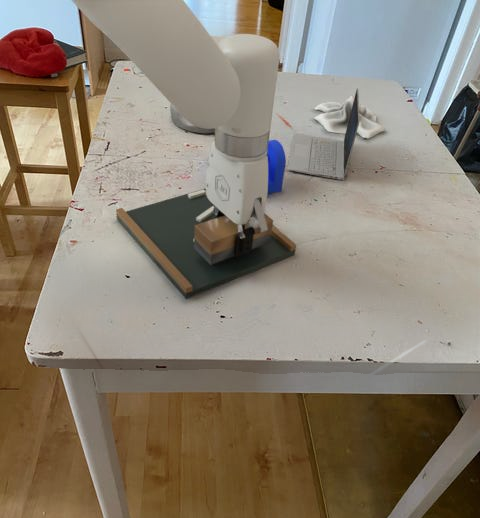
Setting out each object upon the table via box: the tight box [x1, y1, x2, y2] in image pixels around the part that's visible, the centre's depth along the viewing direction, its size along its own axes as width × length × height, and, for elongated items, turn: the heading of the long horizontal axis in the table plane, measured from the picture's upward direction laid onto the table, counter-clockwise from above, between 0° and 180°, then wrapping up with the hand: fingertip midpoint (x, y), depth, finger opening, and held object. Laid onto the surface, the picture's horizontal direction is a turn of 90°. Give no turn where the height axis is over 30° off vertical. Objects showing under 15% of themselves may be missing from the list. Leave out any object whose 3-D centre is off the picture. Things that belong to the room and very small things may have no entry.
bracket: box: [266, 139, 287, 195], centre depth 97 cm, size 18×8×9 cm, turn 29°
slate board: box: [115, 187, 297, 300], centre depth 83 cm, size 22×24×2 cm
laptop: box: [287, 88, 360, 181], centre depth 103 cm, size 18×12×13 cm
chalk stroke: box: [196, 206, 214, 222], centre depth 86 cm, size 5×1×1 cm, turn 145°
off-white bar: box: [187, 189, 206, 199], centre depth 90 cm, size 4×1×1 cm, turn 125°
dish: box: [169, 103, 215, 134], centre depth 114 cm, size 14×14×5 cm
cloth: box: [313, 95, 386, 140], centre depth 122 cm, size 22×19×6 cm
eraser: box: [194, 212, 274, 265], centre depth 77 cm, size 12×5×4 cm, turn 125°
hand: (232, 243), depth 78 cm, fingers closed on eraser, 5 cm apart
